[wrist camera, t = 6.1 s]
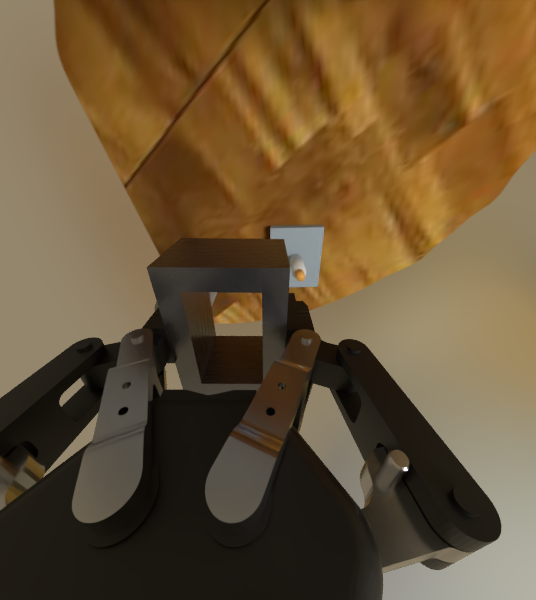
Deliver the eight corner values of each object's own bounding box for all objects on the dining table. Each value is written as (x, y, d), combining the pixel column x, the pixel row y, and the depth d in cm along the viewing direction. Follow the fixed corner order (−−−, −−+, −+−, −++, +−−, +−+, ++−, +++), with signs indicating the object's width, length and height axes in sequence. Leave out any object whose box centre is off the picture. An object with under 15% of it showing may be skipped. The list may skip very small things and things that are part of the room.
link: (181, 238, 12) (146, 267, 9) (283, 238, 12) (290, 268, 9) (202, 347, 16) (185, 396, 13) (279, 347, 16) (282, 396, 13)
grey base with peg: (270, 225, 34) (270, 241, 27) (322, 224, 34) (335, 240, 27) (270, 283, 40) (271, 308, 33) (316, 282, 39) (325, 307, 33)
